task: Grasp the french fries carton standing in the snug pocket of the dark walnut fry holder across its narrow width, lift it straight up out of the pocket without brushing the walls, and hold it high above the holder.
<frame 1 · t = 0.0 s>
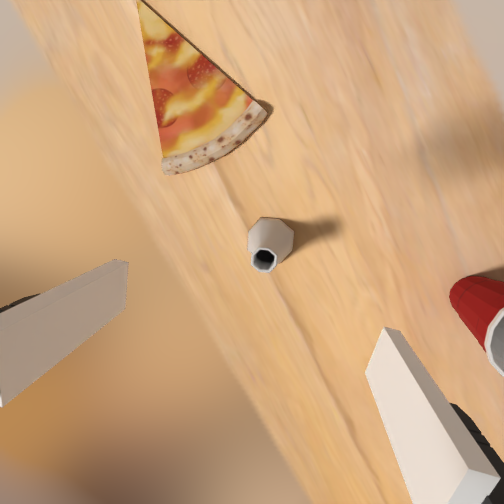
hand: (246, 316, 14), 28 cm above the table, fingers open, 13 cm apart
pizza slice: (208, 86, 37), on the table
flask: (270, 240, 42), on the table
plastic cup: (471, 292, 39), on the table
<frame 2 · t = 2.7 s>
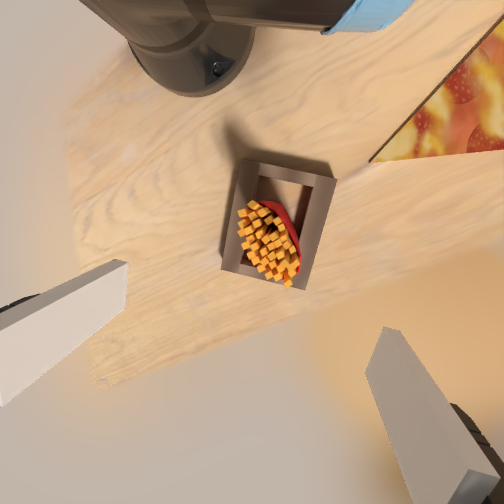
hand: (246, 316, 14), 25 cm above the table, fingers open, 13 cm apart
pizza slice: (472, 80, 31), on the table
french fries: (275, 223, 38), resting in fry holder
fry holder: (275, 224, 38), on the table
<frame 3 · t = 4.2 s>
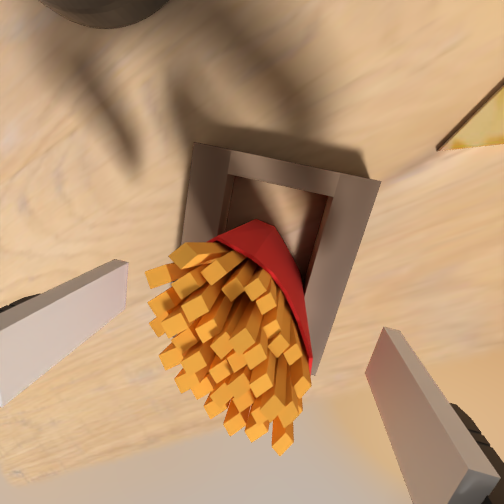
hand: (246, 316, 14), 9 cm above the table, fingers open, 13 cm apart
french fries: (264, 258, 22), resting in fry holder
fry holder: (264, 259, 22), on the table
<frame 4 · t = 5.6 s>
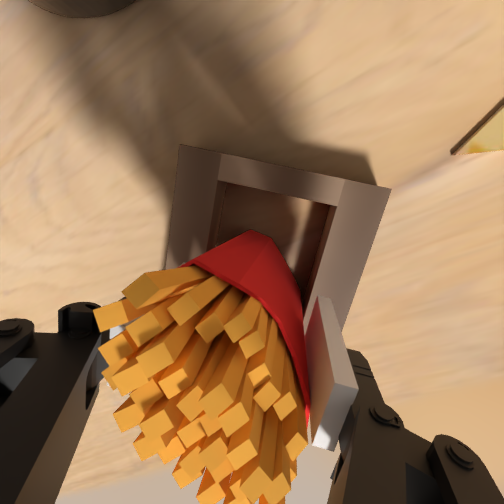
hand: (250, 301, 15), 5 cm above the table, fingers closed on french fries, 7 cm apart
french fries: (260, 272, 20), resting in fry holder, touching gripper
fry holder: (259, 273, 20), on the table
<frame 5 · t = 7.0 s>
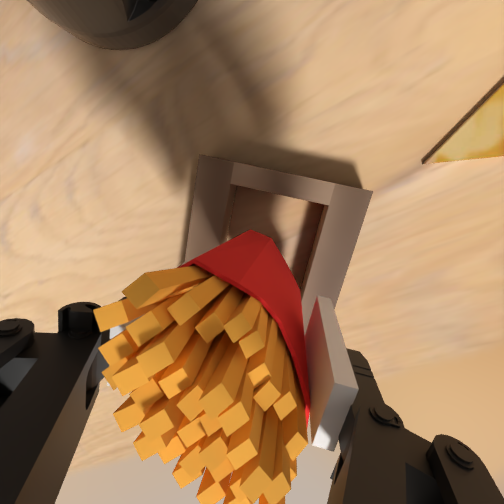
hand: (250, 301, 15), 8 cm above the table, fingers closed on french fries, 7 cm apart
french fries: (260, 272, 20), point 3 cm above the table, touching gripper
fry holder: (264, 263, 23), on the table
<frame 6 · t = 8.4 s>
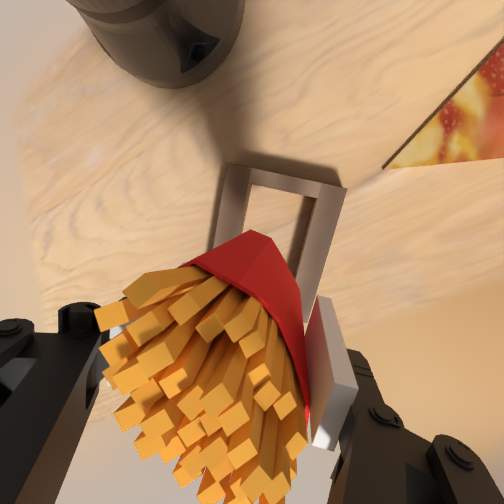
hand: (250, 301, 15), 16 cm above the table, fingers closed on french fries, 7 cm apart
french fries: (260, 272, 20), point 12 cm above the table, touching gripper
fry holder: (271, 242, 31), on the table
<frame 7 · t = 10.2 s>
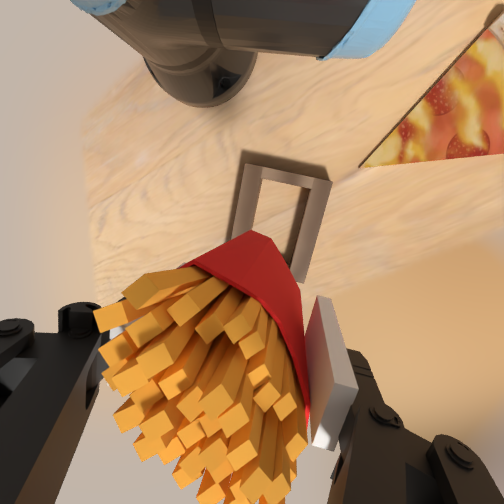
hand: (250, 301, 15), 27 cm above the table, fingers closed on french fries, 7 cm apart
pizza slice: (449, 94, 34), on the table
french fries: (259, 272, 20), point 22 cm above the table, touching gripper
fry holder: (276, 223, 41), on the table
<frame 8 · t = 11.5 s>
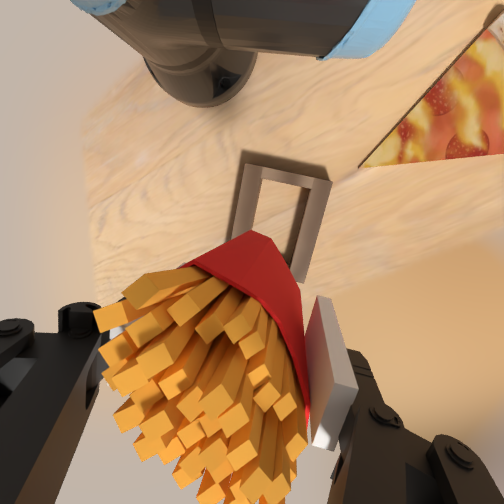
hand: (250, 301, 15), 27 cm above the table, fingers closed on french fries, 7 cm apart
pizza slice: (449, 94, 34), on the table
french fries: (259, 272, 20), point 22 cm above the table, touching gripper
fry holder: (276, 223, 41), on the table
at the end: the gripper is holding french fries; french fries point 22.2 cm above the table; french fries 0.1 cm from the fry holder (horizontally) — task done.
